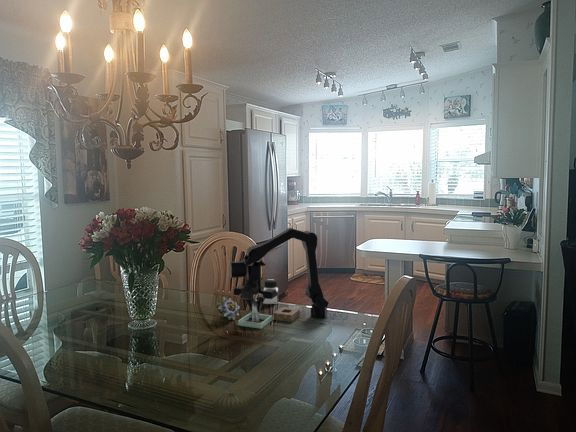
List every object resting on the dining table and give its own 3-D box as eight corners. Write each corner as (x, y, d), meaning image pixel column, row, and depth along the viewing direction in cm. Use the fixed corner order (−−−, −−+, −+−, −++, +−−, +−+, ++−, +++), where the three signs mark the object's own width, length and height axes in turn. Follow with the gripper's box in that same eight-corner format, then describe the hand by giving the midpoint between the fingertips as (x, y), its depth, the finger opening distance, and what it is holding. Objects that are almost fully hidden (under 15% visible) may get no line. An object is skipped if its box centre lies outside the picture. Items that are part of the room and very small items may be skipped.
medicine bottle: (277, 305, 219) (277, 281, 218) (263, 305, 219) (262, 282, 218) (278, 301, 226) (277, 278, 225) (264, 301, 226) (263, 278, 225)
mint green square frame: (272, 322, 196) (272, 315, 195) (261, 330, 186) (261, 323, 185) (250, 319, 200) (250, 312, 200) (238, 327, 190) (238, 320, 190)
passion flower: (233, 331, 200) (227, 316, 192) (213, 324, 204) (207, 308, 196) (246, 312, 207) (241, 296, 199) (226, 305, 211) (221, 289, 203)
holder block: (299, 317, 201) (299, 309, 201) (292, 324, 193) (292, 315, 192) (281, 315, 205) (281, 306, 204) (273, 321, 196) (273, 312, 196)
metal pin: (260, 319, 193) (259, 299, 192) (257, 321, 191) (256, 301, 190) (254, 318, 195) (253, 298, 194) (250, 321, 192) (250, 300, 191)
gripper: (225, 278, 187) (227, 314, 188) (265, 282, 179) (266, 320, 181) (239, 272, 197) (240, 307, 199) (277, 276, 190) (277, 311, 191)
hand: (255, 311), depth 192 cm, fingers closed on metal pin, 3 cm apart
